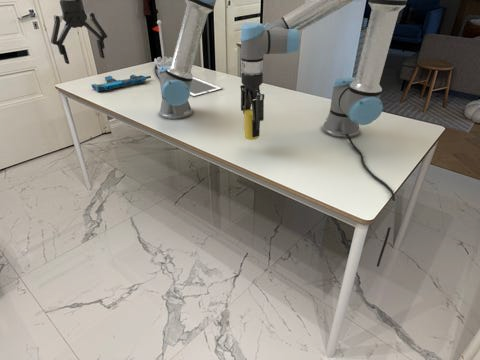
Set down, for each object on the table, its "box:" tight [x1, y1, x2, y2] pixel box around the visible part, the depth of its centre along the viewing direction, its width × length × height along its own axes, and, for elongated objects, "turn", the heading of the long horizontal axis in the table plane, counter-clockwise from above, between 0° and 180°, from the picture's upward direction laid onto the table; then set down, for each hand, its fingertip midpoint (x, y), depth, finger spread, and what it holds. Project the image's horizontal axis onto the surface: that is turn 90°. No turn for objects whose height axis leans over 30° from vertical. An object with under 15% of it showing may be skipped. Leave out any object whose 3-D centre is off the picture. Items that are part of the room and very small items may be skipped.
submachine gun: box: [90, 74, 152, 92], centre depth 206 cm, size 34×4×25 cm
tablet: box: [190, 76, 223, 97], centre depth 203 cm, size 32×20×1 cm, turn 41°
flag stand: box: [152, 19, 173, 69], centre depth 231 cm, size 13×13×30 cm
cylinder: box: [243, 108, 260, 141], centre depth 128 cm, size 6×6×10 cm
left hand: (85, 60), depth 133 cm, fingers open, 13 cm apart
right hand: (251, 133), depth 130 cm, fingers closed on cylinder, 6 cm apart
